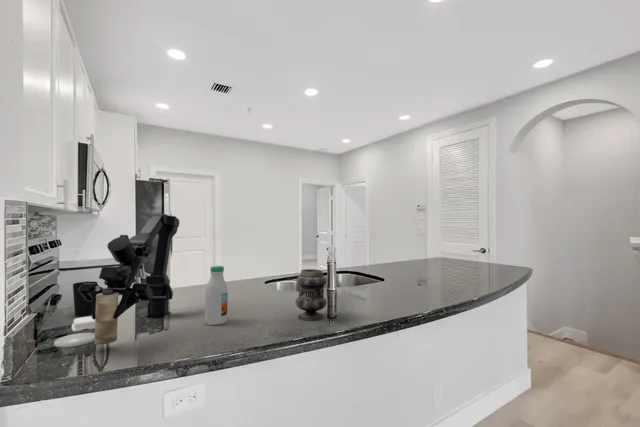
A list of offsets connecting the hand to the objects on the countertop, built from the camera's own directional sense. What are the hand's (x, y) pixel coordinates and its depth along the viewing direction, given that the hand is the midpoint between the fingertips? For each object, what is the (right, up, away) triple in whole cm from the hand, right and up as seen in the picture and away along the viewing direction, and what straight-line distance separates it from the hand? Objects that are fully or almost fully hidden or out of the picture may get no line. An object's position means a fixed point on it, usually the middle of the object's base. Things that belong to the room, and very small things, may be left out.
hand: (103, 318), depth 86 cm
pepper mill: (0, -7, +1) cm, 7 cm away
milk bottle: (+22, -11, +27) cm, 36 cm away
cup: (-32, -10, +35) cm, 49 cm away
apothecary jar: (+56, -11, +34) cm, 67 cm away
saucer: (-13, -9, +7) cm, 17 cm away
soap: (-21, -10, +21) cm, 31 cm away
